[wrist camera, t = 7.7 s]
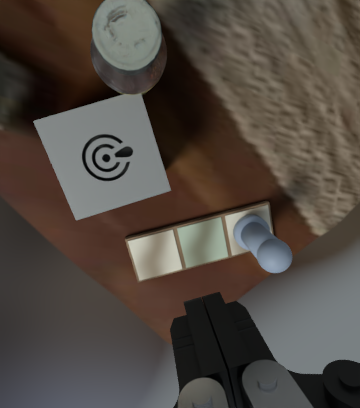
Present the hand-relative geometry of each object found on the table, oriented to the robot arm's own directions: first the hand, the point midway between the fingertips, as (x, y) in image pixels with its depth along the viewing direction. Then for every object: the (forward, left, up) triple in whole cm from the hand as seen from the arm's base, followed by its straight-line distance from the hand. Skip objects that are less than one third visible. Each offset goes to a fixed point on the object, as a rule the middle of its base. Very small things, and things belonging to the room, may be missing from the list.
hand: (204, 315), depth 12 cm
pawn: (-11, +11, -28) cm, 32 cm away
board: (-4, +11, -29) cm, 31 cm away
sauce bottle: (0, -13, -29) cm, 32 cm away
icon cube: (+4, -5, -29) cm, 30 cm away
